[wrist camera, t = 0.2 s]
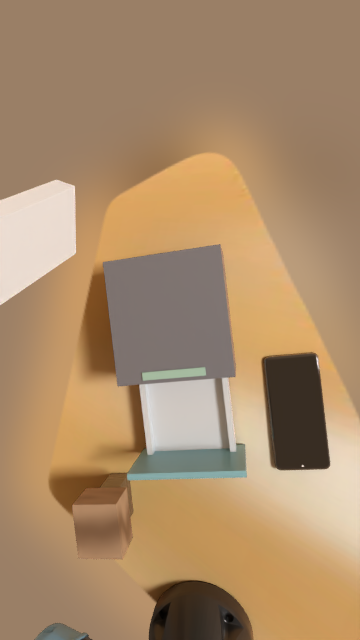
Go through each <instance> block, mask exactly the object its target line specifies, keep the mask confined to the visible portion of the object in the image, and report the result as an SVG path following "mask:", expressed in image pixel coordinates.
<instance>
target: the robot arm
mask: <svg viewBox="0 0 360 640" xmlns="http://www.w3.org/2000/svg"><path fill="white" fill-rule="evenodd" d="M75 230H76V229H75V186H73V185H70V184H67V183H64V182H62V181H59V180H54V181H52V182H49V183H46V184H43V185H41V186H38V187H35V188H33V189H30V190H28V191H25V192H22V193H19V194H17V195H14V196H11V197H8V198H6V199H3V200H0V305H1V304H3V303H4V302H5V301H7V300H8V299H10V298H11V297H13V296H14V295H16V294H17V293H19V292H20V291H22V290H23V289H24V288H26V287H27V286H29V285H30V284H32V283H33V282H35V281H36V280H38V279H39V278H41V277H42V276H43V275H45V274H46V273H48V272H49V271H51V270H52V269H54V268H55V267H57V266H58V265H59V264H61V263H62V262H64V261H65V260H67V259H68V258H70V257H71V256H73V255H74V254H76V231H75ZM88 636H89V635H88V634H87V633H79V632H78V631H76V630H74V629H72V628H70V627H68V626H66V625H64V624H61V623H55V624H52V625H50V626H48V627H47V628H45V629H44V630H43V631H42V632H41V633H40V634H39V635H38V636H37V637H36V638H35V639H34V640H92V639H90V638H89V637H88ZM149 640H253V631H252V627H251V623H250V621H249V618H248V616H247V614H246V612H245V611H244V609H243V608H242V606H241V605H240V604H239V603H238V602H237V601H236V599H234V598H233V597H232V596H231V595H230V594H229V593H227V592H226V591H224V590H223V589H221V588H219V587H217V586H215V585H212V584H209V583H205V582H197V581H191V582H184V583H180V584H177V585H175V586H173V587H171V588H170V589H168V590H167V591H166V592H165V593H164V594H163V595H162V596H161V597H160V599H159V600H158V602H157V604H156V606H155V609H154V612H153V616H152V619H151V623H150V629H149Z"/></svg>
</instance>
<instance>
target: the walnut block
mask: <svg viewBox="0 0 360 640" xmlns="http://www.w3.org/2000/svg"><path fill="white" fill-rule="evenodd" d="M72 509H73V517H74V525H75V533H76V541H77V549H78V558H83V559H123V557H124V555H125V553H126V551H127V549H128V546H129V544H130V542H131V540H132V538H133V536H132V527H131V519H130V511H129V502H128V494H127V487H114V488H86V489H85V490H84V491H83V493H82V494H81V495H80V496H79V497H78V498H77V500H76V501H75V502H74V503H73V504H72Z"/></svg>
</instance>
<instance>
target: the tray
mask: <svg viewBox="0 0 360 640" xmlns="http://www.w3.org/2000/svg"><path fill="white" fill-rule="evenodd" d="M139 387H140V396H141V404H142V413H143V421H144V430H145V438H146V446H147V449H143V451H142V452H141V454H140V455H139V457H138V458H137V460H136V461H135V463H134V464H133V466H132V467H131V469H130V470H129V472H128V473H127V479H128V480H158V479H197V478H236V477H247V470H246V451H245V444H240V445H236V439H235V431H234V422H233V413H232V405H231V396H230V387H229V379H228V378H215V379H203V380H190V381H178V382H165V383H153V384H140V385H139Z"/></svg>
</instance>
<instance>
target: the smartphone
mask: <svg viewBox="0 0 360 640" xmlns="http://www.w3.org/2000/svg"><path fill="white" fill-rule="evenodd" d="M264 370H265V379H266V388H267V397H268V406H269V415H270V427H271V433H272V435H271V436H272V445H273V450H274V459H275V466H276V468H277V469H279V470H313V469H327V468H329V467H330V457H329V448H328V440H327V431H326V422H325V413H324V404H323V395H322V386H321V378H320V369H319V360H318V356H317V354H316V353H313V352H310V353H299V354H290V355H276V356H267V357H265V359H264ZM269 399H270V400H269Z"/></svg>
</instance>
